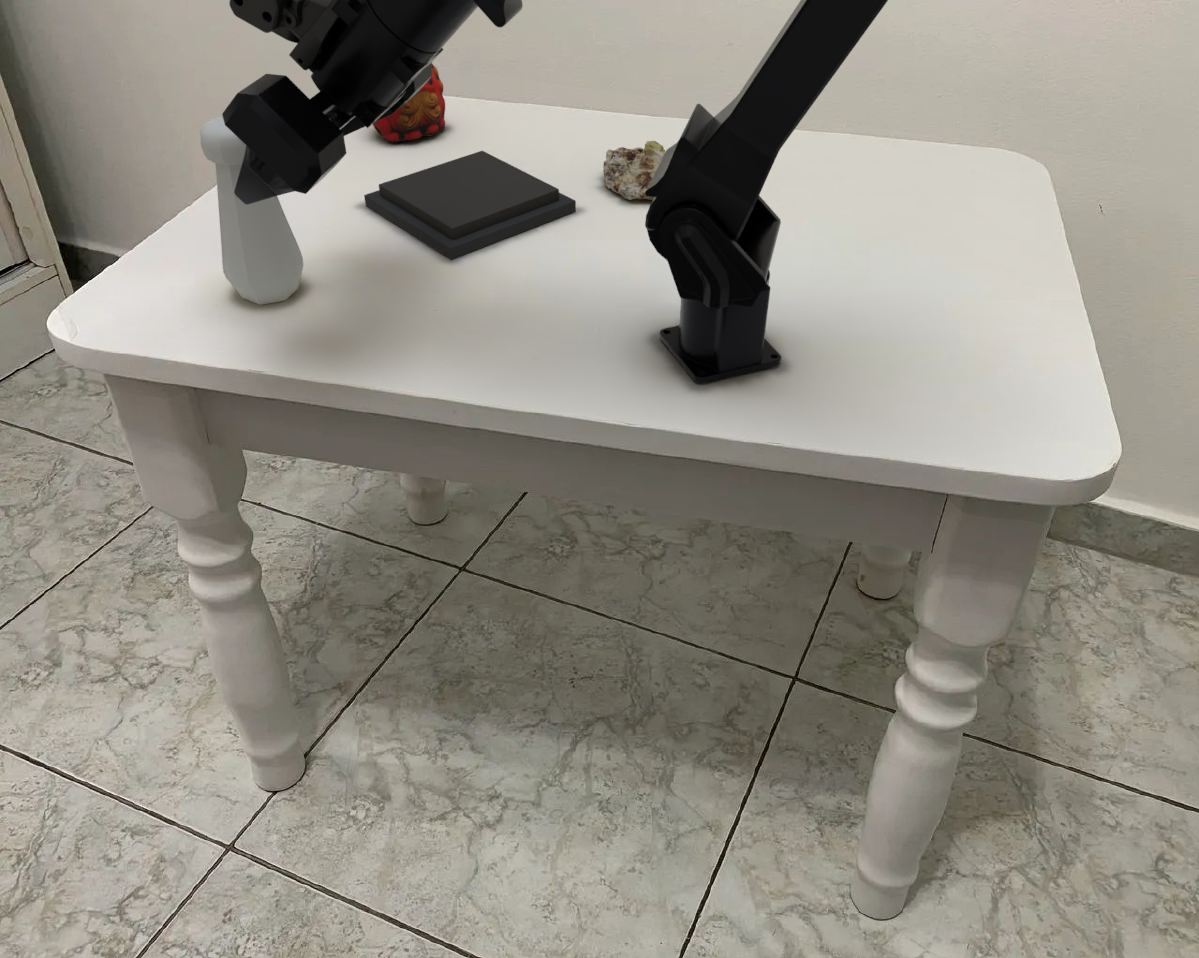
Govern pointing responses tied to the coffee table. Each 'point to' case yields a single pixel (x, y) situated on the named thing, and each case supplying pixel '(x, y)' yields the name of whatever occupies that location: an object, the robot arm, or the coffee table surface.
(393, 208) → the pad stack
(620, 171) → the mineral rock
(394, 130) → the red clay folk toy
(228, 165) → the salt shaker
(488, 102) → the coffee table surface
